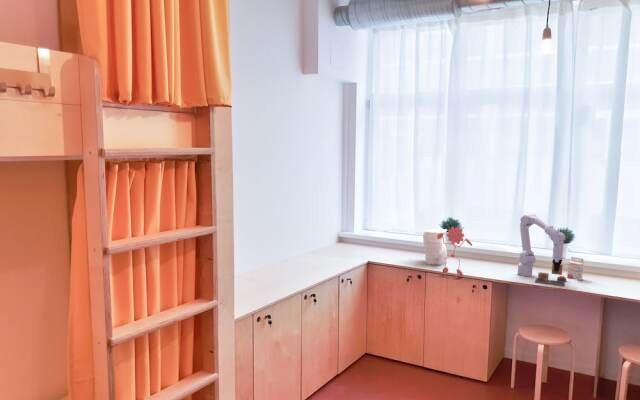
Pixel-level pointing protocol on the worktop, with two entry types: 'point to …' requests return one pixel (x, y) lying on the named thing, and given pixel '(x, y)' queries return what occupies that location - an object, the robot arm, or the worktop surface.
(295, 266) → the worktop surface
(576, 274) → the ink cartridge box
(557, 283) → the grey divided tray
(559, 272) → the block
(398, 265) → the worktop surface
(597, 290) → the worktop surface
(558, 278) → the button housing
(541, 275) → the block
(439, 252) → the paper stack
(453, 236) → the figurine
